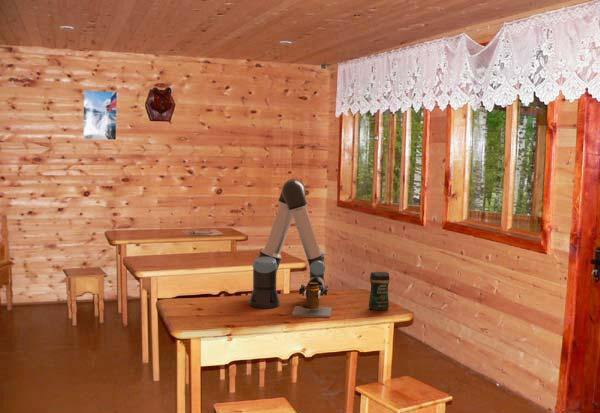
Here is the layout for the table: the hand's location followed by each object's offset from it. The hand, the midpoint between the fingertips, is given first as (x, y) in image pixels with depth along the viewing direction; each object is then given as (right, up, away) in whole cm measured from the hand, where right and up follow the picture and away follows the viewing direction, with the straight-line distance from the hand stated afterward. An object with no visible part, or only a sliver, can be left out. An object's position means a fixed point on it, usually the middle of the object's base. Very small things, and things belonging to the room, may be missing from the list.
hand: (311, 295), depth 306 cm
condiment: (0, -7, +6) cm, 9 cm away
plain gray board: (0, -9, +6) cm, 11 cm away
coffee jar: (+33, -9, +16) cm, 38 cm away
